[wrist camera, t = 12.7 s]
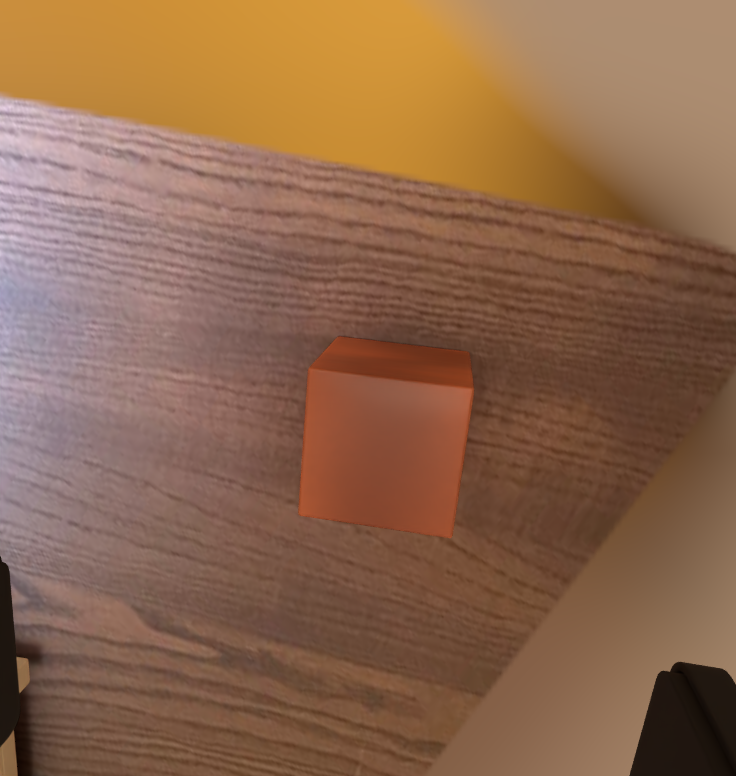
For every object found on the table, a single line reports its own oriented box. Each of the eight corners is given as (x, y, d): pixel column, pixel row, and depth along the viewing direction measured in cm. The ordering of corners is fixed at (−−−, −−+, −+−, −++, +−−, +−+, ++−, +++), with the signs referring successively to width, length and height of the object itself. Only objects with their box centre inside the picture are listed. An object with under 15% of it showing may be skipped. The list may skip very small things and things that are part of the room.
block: (470, 351, 21) (475, 388, 16) (452, 475, 22) (452, 539, 18) (337, 335, 21) (307, 367, 17) (327, 457, 22) (297, 516, 18)
